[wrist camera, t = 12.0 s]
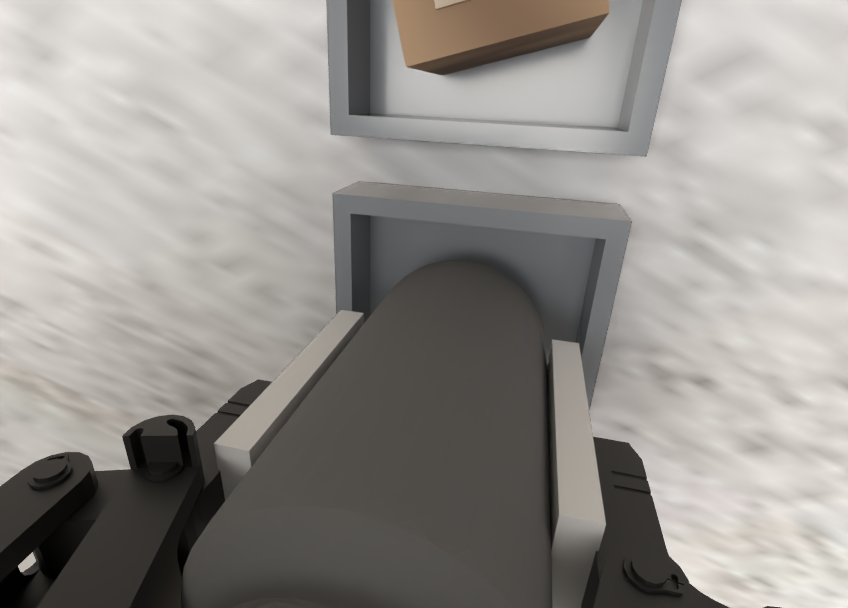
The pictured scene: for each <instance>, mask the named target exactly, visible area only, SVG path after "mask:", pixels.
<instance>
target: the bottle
mask: <svg viewBox="0 0 848 608" xmlns="http://www.w3.org/2000/svg"><path fill="white" fill-rule="evenodd" d="M181 606H182V608H552V558H551V505H550V454H549V421H548V388H547V354H546V341H545V333H544V328H543V323H542V320H541V318H540V315H539V312H538V310H537V308H536V307H535V305H534V303H533V301H532V300H531V298H530V297H529V296H528V295H527V293H526V292H525V291H524V290H523V289H522V288H521V287H520V286H519V285H518V284H517V283H516V282H514V281H513V280H512V279H510V278H509V277H508V276H506V275H505V274H503V273H501V272H499V271H497V270H495V269H493V268H491V267H489V266H486V265H483V264H479V263H475V262H470V261H461V260H451V261H442V262H437V263H432V264H428V265H426V266H423V267H421V268H419V269H417V270H415V271H413V272H412V273H410V274H408V275H407V276H405V277H404V278H403V279H402V280H401V281H400V282H399V283H397V284H396V285H395V286H394V288H393V289H392V290H391V291H390V292H389V293H388V294H387V296H386V297H385V298H384V299H383V301H382V302H381V303H380V304H379V306H378V307H377V308H376V309H375V310H374V312H373V313H372V314H371V315H370V317H369V318H368V319H367V320H366V322H365V323H364V324H363V325H362V327H361V328H360V329H359V330H358V332H357V333H356V334H355V335H354V337H353V338H352V339H351V341H350V342H349V343H348V344H347V346H346V347H345V348H344V349H343V351H342V352H341V353H340V355H339V356H338V357H337V358H336V360H335V361H334V362H333V363H332V365H331V366H330V367H329V369H328V370H327V371H326V372H325V374H324V375H323V376H322V377H321V379H320V380H319V381H318V383H317V384H316V385H315V386H314V388H313V389H312V390H311V391H310V393H309V394H308V395H307V396H306V398H305V399H304V400H303V402H302V403H301V404H300V405H299V407H298V408H297V409H296V410H295V412H294V413H293V414H292V416H291V417H290V418H289V419H288V421H287V422H286V423H285V424H284V426H283V427H282V428H281V430H280V431H279V432H278V433H277V435H276V436H275V437H274V438H273V440H272V441H271V442H270V444H269V445H268V446H267V447H266V449H265V450H264V451H263V452H262V454H261V455H260V456H259V458H258V459H257V460H256V462H255V463H254V464H253V465H252V467H251V468H250V469H249V471H248V472H247V473H246V475H245V476H244V477H243V479H242V480H241V481H240V482H239V484H238V485H237V486H236V488H235V489H234V490H233V492H232V493H231V494H230V496H229V497H228V498H227V499H226V501H225V502H224V503H223V505H222V506H221V507H220V509H219V510H218V511H217V513H216V514H215V515H214V516H213V518H212V519H211V520H210V522H209V523H208V525H207V526H206V528H205V529H204V531H203V532H202V534H201V535H200V537H199V538H198V540H197V541H196V543H195V544H194V546H193V547H192V549H191V551H190V553H189V556H188V558H187V561H186V563H185V566H184V570H183V577H182V584H181Z"/></svg>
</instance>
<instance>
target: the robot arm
mask: <svg viewBox="0 0 848 608" xmlns="http://www.w3.org/2000/svg"><path fill="white" fill-rule="evenodd" d="M363 324H364V313H360V312H353V311H346V310H341V311H340V312H339V313H338V314H337V315H336V316H335V317H334V318H333V319H332V320H331V321H330V322H329V323H328V324H327V325H326V326H325V327H324V328H323V329H322V330H321V332H320V333H319V334H318V335H317V336H316V337H315V338H314V339H313V340H312V341H311V342H310V343H309V344H308V345H307V346H306V347H305V348H304V349H303V350H302V351H301V353H300V354H299V355H298V356H297V357H296V358H295V359H294V360H293V361H292V362H291V363H290V364H289V365H288V366H287V367H286V368H285V369H284V370H283V371H282V373H281V374H280V375H279V376H278V377H277V378H276V379H275V380H274V381H273V382H269V381H263V380H257V381H255V382H253V383H251V384H249V385H247V386H245V387H243V388H241V389H240V390H239V391H238V392H237V393H236V394H235V395H234V396H233V397H232V398H231V399H230V400H228V403H225V404H224V405H223V406H222V407H221V408H220V409H219V410H218V413H215V414H214V415H213V416H212V417H211V418H210V419H209V420H208V421H207V422H206V423H205V424H204V425H202V426H201V427H200V428H199V429H198V430H197V431H196V430H195V426H194V424H193V422H192V420H190V419H188V418H186V417H184V416H177V415H166V416H158V417H154V418H151V419H148V420H145V421H143V422H141V423H139V424H137V425H135V426H134V427H132V428H130V429H129V430H128V431H127V432H126V433H125V434H124V435H123V436H122V437H123V441H124V445H125V448H126V452H127V456H128V460H129V464H130V467H131V469H129V470H111V471H94V468H93V464H92V462H91V460H90V458H89V456H87V455H85V454H82V453H80V452H65V453H60V454H56V455H51V456H49V457H46V458H44V459H41V460H39V461H36V462H34V463H33V464H31V465H30V466H28V467H26V468H25V469H23V470H22V471H20V472H19V473H18V474H16V475H15V476H14V477H12V478H11V479H10V480H8V481H7V482H6V483H4V484H3V485H2V486H0V608H182V606H181V584H182V577H183V570H184V566H185V563H186V561H187V558H188V556H189V553H190V551H191V549H192V547H193V546H194V544H195V543H196V541H197V540H198V538H199V537H200V535H201V534H202V532H203V531H204V529H205V528H206V526H207V525H208V523H209V522H210V520H211V519H212V518H213V516H214V515H215V514H216V513H217V511H218V510H219V509H220V507H221V506H222V505H223V503H224V502H225V501H226V499H227V498H228V497H229V496H230V494H231V493H232V492H233V490H234V489H235V488H236V486H237V485H238V484H239V482H240V481H241V480H242V479H243V477H244V476H245V475H246V473H247V472H248V471H249V469H250V468H251V467H252V465H253V464H254V463H255V462H256V460H257V459H258V458H259V456H260V455H261V454H262V452H263V451H264V450H265V449H266V447H267V446H268V445H269V444H270V442H271V441H272V440H273V438H274V437H275V436H276V435H277V433H278V432H279V431H280V430H281V428H282V427H283V426H284V424H285V423H286V422H287V421H288V419H289V418H290V417H291V416H292V414H293V413H294V412H295V410H296V409H297V408H298V407H299V405H300V404H301V403H302V402H303V400H304V399H305V398H306V396H307V395H308V394H309V393H310V391H311V390H312V389H313V388H314V386H315V385H316V384H317V383H318V381H319V380H320V379H321V377H322V376H323V375H324V374H325V372H326V371H327V370H328V369H329V367H330V366H331V365H332V363H333V362H334V361H335V360H336V358H337V357H338V356H339V355H340V353H341V352H342V351H343V349H344V348H345V347H346V346H347V344H348V343H349V342H350V341H351V339H352V338H353V337H354V335H355V334H356V333H357V332H358V330H359V329H360V328H361V327H362V325H363ZM547 388H548V421H549V454H550V505H551V558H552V608H729V607H727V606H725V605H723V604H721V603H719V602H717V601H715V600H713V599H711V598H709V597H708V596H706V595H704V594H703V593H701V592H700V591H698V590H697V589H696V588H694V587H693V586H692V585H691V584H689V581H688V579H687V577H686V576H685V574H684V572H683V571H682V569H681V568H680V566H679V565H678V564H677V563H675V562H674V561H673V560H672V559H671V558H670V557H669V555H668V552H667V549H666V546H665V542H664V538H663V535H662V531H661V527H660V524H659V520H658V517H657V513H656V509H655V506H654V502H653V498H652V496H651V495H650V494H651V491H650V487H649V484H648V481H647V480H646V478H647V477H646V473H645V469H644V466H643V462H642V459H641V458H640V457H639V456H638V454H637V453H636V452H635V451H634V449H633V448H632V447H631V446H630V444H629V443H626V442H620V441H614V440H609V439H603V438H597V437H593V434H592V427H591V420H590V414H589V407H588V400H587V394H586V387H585V380H584V373H583V367H582V360H581V353H580V347H579V343H574V342H567V341H560V340H553V339H552V344H551V349H550V355H549V361H548V367H547ZM32 552H33V554H34V556H35V559H36V562H35V563H34V564H33V565H32V566H31V567H30V568H28V569H27V570H25V571H24V572H20V570H19V568H18V565H19V564H20V563H21V562H22V561H23V560H24V559H25V558H26V557H27V556H28V555H29V554H31V553H32ZM764 608H780V607H770V606H767V607H764Z"/></svg>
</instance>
